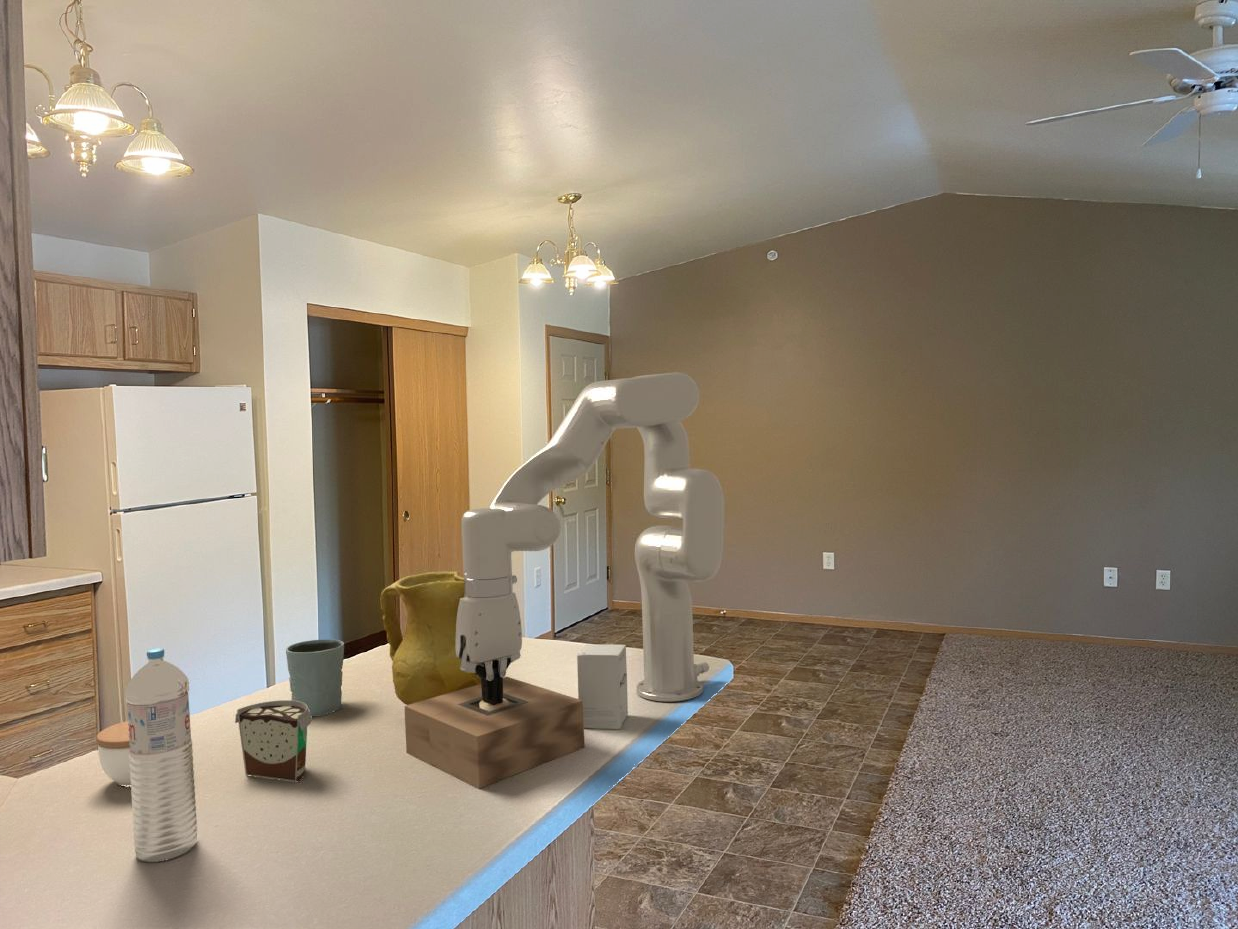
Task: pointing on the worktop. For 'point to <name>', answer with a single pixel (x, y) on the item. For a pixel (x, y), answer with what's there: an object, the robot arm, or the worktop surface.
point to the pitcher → (425, 636)
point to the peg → (492, 707)
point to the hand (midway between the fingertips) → (492, 702)
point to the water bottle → (161, 760)
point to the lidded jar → (115, 752)
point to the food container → (274, 739)
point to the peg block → (494, 731)
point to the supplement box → (603, 685)
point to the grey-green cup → (316, 674)
